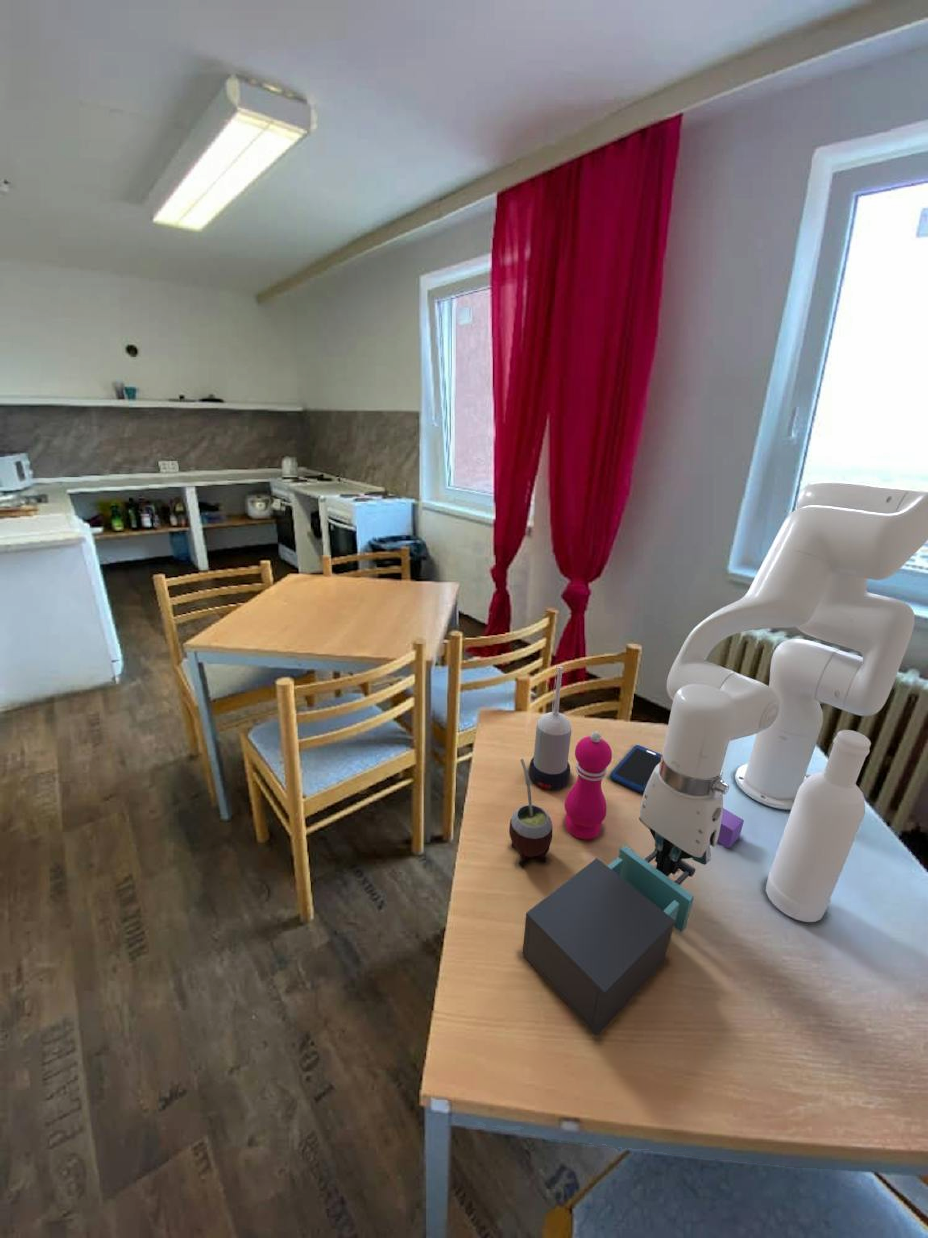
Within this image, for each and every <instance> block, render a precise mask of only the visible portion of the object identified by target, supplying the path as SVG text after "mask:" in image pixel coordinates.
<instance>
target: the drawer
mask: <svg viewBox="0 0 928 1238" xmlns="http://www.w3.org/2000/svg"><path fill="white" fill-rule="evenodd" d="M656 854H657V849H656V847H655V848H654V851H652V852H651V853H650V854H649V855H647V857H645V858H643V857H641V856H640V855H639V854H638V853H636V852H635V851H634V850H633V849H631V848H630V847H628V846H626V845H625V844H624V845H623V846H622V847H620V848H619V854H618V857H616V859H614V860H613V861H611V862H610V863H609V864H608V865H607V866H608V867H609V868H610V869H611V870H613V871H614V872H615V873H616V874H618V875H619V876H620V877H621V878H623V879H624V880H625V881H626V882H628V883H629V884H630V885H631V886H633V887H634V888H635V889H636V890H638V891H639V892H640V893H641V894H643V895H644V896H645V897H646V898H648V899H649V900H650V901H651V902H653V903H654V904H655V905H656V906H658V907H659V908H660V909H661V910H663V911H664V912H665V913H666V914H668V915H669V916H670V917H671V918H673V919H674V920H675V923H674V927H673V928H675V929H676V930H678V931H679V932H680V933H684V931H685V929H687V925H688V921H689V917H690V914H691V910H692V907H693V903H694V899H695V896H694V895H693V894H691V892H689V891H687V890H686V889H685V888H683V887H682V886H681V884H682V883H684V881H685V880H687V878H688V877H689V878H692V877H693V876H694V875H695V873H696V868H695V867H694V866H692V865H691V864H689V863H688V862H686V861H685V860H684V859H681V862H680V866H679V869H678V870H680V871H681V872H683V873H682V874H681V875H680V876H678V878H676V880H673V879H671V878H670V877H669V876H668V877H667V876H666V875H664V874H663V873H662V872H660V871H659V870H658V869H656V866H654V865H652V864H651V863H650V862H652V861H653V860H655V859H656ZM673 931H674V929H673V930H672V932H673Z"/></svg>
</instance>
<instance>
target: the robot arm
mask: <svg viewBox="0 0 928 1238" xmlns="http://www.w3.org/2000/svg"><path fill="white" fill-rule="evenodd" d="M927 542H928V491H925V490H918V489H912V488H902V487H901V488H900V487H894V486H883V485H876V484H868V483H860V482H851V481H839V480H836V481H835V480H823V481H821V480H820V481H815V482H811V483H809V484H807V485H806V486H804V487H803V488H802V489H801V491H800V493H799V495H798V497H797V501H796V509H794V510H793V511H791V512H790V513H789V514H788V515H787V516H786V518H785V519H784V521H783V522H782V525H781V527H780V528H779V530H778V532H777V534H776V535H775V538H774V540H773V542H772V544H771V545H770V547H769V549H768V551H767V553H766V555H765V556H764V559H763V561H762V563H761V565H760V567H759V569H758V571H757V573H756V575H755V577H754V578H753V580H752V582H751V584H750V586H749V588H748V590H747V592H746V594H744V595H743V597H741V598H740V599H738V600H736V601H734V602H732V603H729V604H728V605H725V606H722V607H721V608H719V609H718V610H716V611H715V612H713V613H711V614H710V615H708V616H707V617H706V618H705V619H703V620H702V621H701V622H699V623H698V624H697V625H696V626H695V627H694V628H693V629H692V630H691V631H690V633H689V634H688V635H687V637H686V638H685V641H684V642H683V644H682V646H681V648H680V651H679V652H678V654H677V655H676V657H675V659H674V661H673V664H672V665H671V668H670V670H669V673H668V676H667V679H666V693H667V695H668V696H669V698H670V699H671V701H672V703H671V709H670V714H669V719H668V723H667V728H666V732H665V739H664V742H663V743H664V744H663V747H662V753H661V755H662V756H661V761H660V763H659V764H658V765H657V766H656V767H655V769H654V771H653V773H652V775H651V777H650V779H649V781H648V784H647V786H646V789H645V792H644V793H643V795H642V798H641V803H640V807H639V816H638V820H639V821H640V823H642V825H644V827H645V828H646V829H648V830H649V832H650V834H651V836H652V838H653V840H654V847H655V848H656V849H657V854H656V857H655V858H654V862H655V863H656V866H655V868H656V869H658V870H659V871H660V872H662V873H663V874H664V875H666V876H667V877H668V878H669V876H670V875H671V874H672V875H676V873H678V871H679V870H680V869H679V866H680V862H681V859H682V860H688V859H692V861H695V862H697V863H699V864H701V865H704V866H705V865H707V864H708V863H709V862H710V861H711V860H712V857H711V856H712V855H711V847H715V846H716V844H717V843H718V842H717V840H718V837H719V832H720V827H721V820H722V812H723V808H724V795H726V794H727V793H728V791H729V789H730V785H729V784H727V783H726V782H725V781H724V780H723V778H722V776H723V771H722V769H723V766H724V762H725V758H726V754H727V751H728V747H729V744H730V742H732V741H734V740H738V739H742V738H747V737H751V736H754V735H755V738H754V741H753V745H752V748H751V751H750V755H749V759H748V761H747V763H744V764H741V765H740V766H739V767H738V768H737V769H736V771H735V775H734V779H735V782H736V784H737V786H738V788H740V789H741V791H742V792H743V793H744V794H746V795H747V796H749V798H751V799H752V800H754V801H756V802H758V803H760V804H762V805H765V806H768V807H770V808H775V809H777V810H778V809H779V810H786V811H787V810H788V811H791V810H792V807H793V804H794V801H795V798H796V795H797V792H798V789H799V787H800V785H801V784H802V783H803V782H804V781H805V780H806V779H807V778H808V777H809V776H810V775H811V774H808V773H807V771H808V768H809V766H810V763H811V760H812V757H813V754H814V751H815V748H816V746H817V743H818V739H819V736H820V734H821V732H822V731H821V730H822V728H823V724H824V713H823V709H822V707H821V704H820V702H821V703H823V704H825V705H828V706H832V707H833V708H836V709H839V710H842V711H845V712H847V713H850V714H853V715H855V716H859V717H872V716H874V715H877V713H879V712H880V711H881V710H882V709H883V707H884V706H885V704H886V702H887V700H888V698H889V697H890V693H891V691H892V689H893V686H894V683H895V681H896V678H897V675H898V673H899V670H900V667H901V665H902V662H903V660H904V657H905V654H906V652H907V649H908V646H909V643H910V642H911V637H912V635H913V631H914V628H915V621H916V620H915V612H914V610H913V608H912V607H911V606H910V605H909V604H908V603H906V602H905V601H902V600H899V599H898V598H894V597H889V596H885V595H881V594H876V593H872V592H869V591H868V590H867V584H868V582H869V580H873V581H881V580H885V579H888V578H890V577H891V576H893V575H895V574H896V573H897V572H898V571H900V570H901V568H902V567H903V566H905V565H906V564H907V562H908V561H909V560H910V559H911V558H912V557H913V556H915V554H916V553H917V552H918V551H919V550H921V548H922V547H924V546H925V544H926V543H927ZM794 627H796V629H797V630H798V631H800V632H801V633H803V634H805V635H806V636H810V637H812V638H815V639H817V640H821V641H824V642H827V643H830V644H833V645H837V646H841V647H844V648H846V649H847V648H848V649H850V650H854V651H856V652H859V653H860V654H861V656H860V655H857V654H853V653H851V652H847V651H844V650H841V649H839V648H836V647H832V646H830V645H826V644H823V643H819V642H816V641H814V640H813V641H812V640H809V639H802V638H789V639H786V640H783V641H782V642H780V643H779V644H777V646H776V648H775V649H774V650H773V653H772V655H771V659H770V667H769V682H768V684H765V683H764V682H761V681H759V680H756V679H754V678H752V677H748V676H745V675H743V674H741V673H738V672H737V671H734V670H731V669H729V668H727V667H723V666H721V665H719V664H716V663H713V662H710V661H708V660H707V658H708V657H709V655H710V653H711V652H712V650H713V649H714V648H715V647H716V646H717V645H718V644H719V643H721V642H722V641H724V640H725V639H727V638H728V637H729V638H730V637H732V636H734V635H737V634H740V633H744V632H749V631H756V630H765V629H766V630H767V629H782V628H783V629H784V628H794Z"/></svg>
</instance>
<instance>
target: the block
mask: <svg viewBox="0 0 928 1238" xmlns="http://www.w3.org/2000/svg"><path fill="white" fill-rule="evenodd" d="M744 823H745V819H743V818H741V817H739V816H738V815H736V814H734V813H733V812H730V811H729V810H728V809H726V808H724V807H723V812H722V820H721V827H720V832H719V837H718V840H717V842H716V843H719V844H720V845H722V846H723V847H725V848H726V849H729V848H730V847H731V846H732V845H733V844H734V843H735V842H737V840H738V839H740V836H741V833H742V830H743V825H744Z"/></svg>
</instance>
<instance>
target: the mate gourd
mask: <svg viewBox="0 0 928 1238" xmlns="http://www.w3.org/2000/svg"><path fill="white" fill-rule="evenodd" d="M519 761H520V763H521V767H522V770H523V772H524V776H525V786H526V791H527V792H526V793H527V800H528V802H527V803H528V804H526V805H522V806H521V807H519V808H517V809H516V810H515V811H514V813H513V814H512V815H511V818H510V821H509V827H508V833H509V838H510V840H511V843H510V844H511V845H510V846H511V847H512V848H513V849H515V850H516V851H517V852H518V853H519V858H520V860H519V861H518V865H519V866H520V867H524V866H525V864H526V863H527V862H528V859H529V858H533V859H535V860H538V861H539V862H542V863H546V862H547V857H546V856H547V855H548V853H549V851H550V847H551V843H552V840H553V831H554V830H553V827H554V826H553V820H552V819H551V817H550V815H549V813H548V812H547V811H546V810H544V808H542V807H540V806H538V805H535V804H533V801H532V792H531V791H532V790H531V784H532V781H531V780H530V778H529V771H528V769H527V765H526V764H525V760H524V759H523V758H521V759H519Z"/></svg>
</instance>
